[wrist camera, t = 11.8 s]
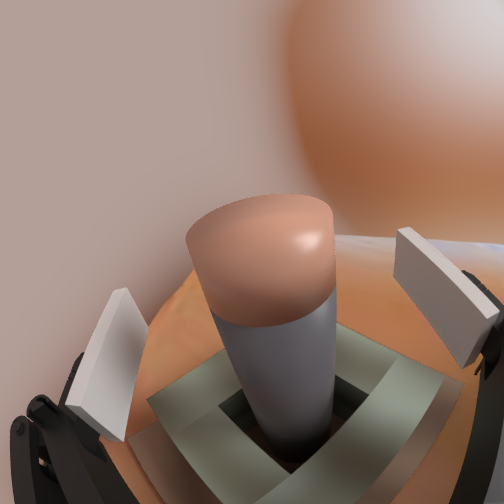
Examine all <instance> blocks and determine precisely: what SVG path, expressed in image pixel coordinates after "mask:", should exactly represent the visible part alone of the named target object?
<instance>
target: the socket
mask: <svg viewBox="0 0 504 504" xmlns="http://www.w3.org/2000/svg"><path fill="white" fill-rule="evenodd" d="M463 386H464V383H462V382H460V381H458V380H456V379H453V378H451V377H449V376H447V375H445V374H443V373H441V372H438V371H436V370H434V369H432V368H430V367H428V366H426V365H424V364H421V363H419V362H417V361H415V360H413V359H411V358H409V357H407V356H405V355H403V354H401V353H399V352H397V351H395V350H392V349H390V348H388V347H386V346H384V345H382V344H380V343H378V342H376V341H374V340H372V339H370V338H368V337H366V336H364V335H362V334H360V333H358V332H356V331H354V330H352V329H350V328H348V327H346V326H344V325H342V324H340V323H338V322H336V361H335V381H334V397H333V409H332V420H331V430H330V439H329V440H328V441H327V442H326V443H325V444H324V445H323V446H322V447H321V448H320V449H319V450H318V451H317V452H316V453H315V454H314V455H313V456H312V457H311V458H310V459H309V460H307V461H306V462H305V463H289V462H285V461H283V460H281V459H279V458H278V457H277V456H276V455H275V454H274V453H273V452H272V450H271V449H270V447H269V445H268V443H267V440H266V438H265V436H264V434H263V432H262V430H261V428H260V426H259V424H258V422H257V420H256V417H255V415H254V413H253V411H252V409H251V407H250V404H249V402H248V400H247V398H246V396H245V393H244V391H243V389H242V387H241V384H240V382H239V380H238V377H237V375H236V373H235V370H234V368H233V366H232V363H231V361H230V358H229V356H228V354H227V351H226V349H225V348H224V349H223V350H221V351H220V352H218V353H217V354H215V355H214V356H212V357H211V358H210V359H208V360H207V361H205V362H204V363H202V364H201V365H199V366H198V367H196V368H195V369H193V370H192V371H190V372H189V373H187V374H186V375H184V376H183V377H181V378H179V379H178V380H176V381H175V382H173V383H172V384H170V385H169V386H167V387H165V388H164V389H162V390H161V391H159V392H157V393H156V394H154V395H153V396H151V397H149V398H148V399H146V400H147V401H148V403H149V405H150V406H151V408H152V410H153V411H154V413H155V415H156V416H157V418H158V419H159V420H158V421H156V422H154V423H153V424H151V425H149V426H148V427H146V428H144V429H143V430H141V431H139V432H137V433H136V434H134V435H132V436H130V437H129V438H127V440H128V442H129V444H130V446H131V448H132V450H133V452H134V454H135V455H136V457H137V459H138V461H139V463H140V464H141V466H142V468H143V469H144V471H145V473H146V474H147V476H148V478H149V479H150V481H151V483H152V484H153V486H154V487H155V489H156V490H157V492H158V493H159V495H160V496H161V498H162V499H163V501H164V502H165V504H389V503H390V502H391V501H392V500H393V499H394V498H395V496H396V495H397V494H398V493H399V491H400V490H401V489H402V488H403V486H404V485H405V484H406V483H407V481H408V480H409V479H410V477H411V476H412V475H413V473H414V472H415V470H416V469H417V468H418V466H419V465H420V463H421V462H422V460H423V459H424V457H425V456H426V454H427V453H428V451H429V450H430V448H431V447H432V445H433V443H434V442H435V440H436V438H437V437H438V435H439V433H440V432H441V430H442V428H443V426H444V424H445V423H446V421H447V419H448V417H449V415H450V413H451V411H452V409H453V407H454V405H455V403H456V401H457V399H458V397H459V395H460V393H461V390H462V388H463Z"/></svg>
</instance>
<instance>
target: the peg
mask: <svg viewBox="0 0 504 504" xmlns="http://www.w3.org/2000/svg"><path fill="white" fill-rule="evenodd" d="M186 244H187V247H188V250H189V253H190V256H191V258H192V261H193V264H194V267H195V270H196V273H197V276H198V279H199V281H200V284H201V287H202V290H203V292H204V295H205V298H206V300H207V303H208V306H209V308H210V311H211V314H212V316H213V319H214V321H215V324H216V326H217V329H218V331H219V334H220V336H221V339H222V341H223V344H224V346H225V349H226V351H227V354H228V356H229V358H230V361H231V363H232V366H233V368H234V370H235V373H236V375H237V377H238V380H239V382H240V384H241V387H242V389H243V391H244V393H245V396H246V398H247V400H248V402H249V404H250V407H251V409H252V411H253V413H254V415H255V417H256V420H257V422H258V424H259V426H260V428H261V430H262V432H263V434H264V436H265V438H266V440H267V443H268V445H269V447H270V449H271V450H272V452H273V453H274V454H275V455H276V456H277V457H278V458H279V459H281V460H283V461H285V462H289V463H305V462H306V461H307V460H309V459H310V458H311V457H312V456H313V455H314V454H315V453H316V452H317V451H318V450H319V449H320V448H321V447H322V446H323V445H324V444H325V443H326V442H327V441H328V440H329V439H330V430H331V420H332V409H333V397H334V381H335V361H336V318H337V305H336V261H335V241H334V225H333V214H332V210H331V208H330V207H329V206H328V205H327V204H326V203H325V202H323V201H321V200H319V199H317V198H314V197H310V196H306V195H299V194H271V195H263V196H257V197H252V198H247V199H244V200H239V201H237V202H233V203H230V204H227V205H225V206H222V207H220V208H218V209H216V210H214V211H212V212H210V213H208V214H206V215H205V216H203V217H202V218H201V219H199V220H198V221H197V222H196V223H195V224H194V225H193V226H192V227H191V228H190V229H189V231H188V233H187V235H186Z"/></svg>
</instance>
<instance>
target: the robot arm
mask: <svg viewBox="0 0 504 504" xmlns="http://www.w3.org/2000/svg"><path fill="white" fill-rule="evenodd" d="M393 277H394V278H395V279H396V281H397V282H398V283H399V284H400V285H401V287H402V288H403V289H404V290H405V292H406V293H407V294H408V295H409V297H410V298H411V299H412V300H413V302H414V303H415V304H416V306H417V307H418V308H419V310H420V311H421V312H422V313H423V315H424V316H425V317H426V319H427V320H428V321H429V323H430V324H431V326H432V327H433V328H434V330H435V331H436V332H437V334H438V335H439V337H440V338H441V339H442V341H443V342H444V344H445V345H446V347H447V348H448V350H449V351H450V352H451V354H452V355H453V357H454V358H455V360H456V361H457V363H458V364H459V366H460V368H461V369H464V368H465V367H467V366H469V365H471V364H472V363H474V362H475V361H476V359H477V357H478V355H479V353H480V352H481V354H482V355H483V356H484V357H483V359H482V361H481V362H480V364H479V366H478V367H477V369H476V371H475V374H474V375H477V373H478V372H479V370H480V369H481V372H480V382H479V391H478V398H477V405H476V411H475V417H474V422H473V427H472V432H471V436H470V440H469V444H468V448H467V452H466V455H465V459H464V462H463V466H462V469H461V472H460V475H459V478H458V481H457V484H456V486H455V489H454V492H453V494H452V497H451V499H450V502H449V504H504V305H503V304H502V303H501V302H500V301H499V300H498V299H497V298H496V297H495V296H494V295H493V294H492V293H491V292H490V291H489V290H487V288H486V287H485V286H484V285H483V284H481V282H480V281H479V280H478V279H477V278H476V277H475V276H474V275H472V274H470V273H468V272H466V271H465V270H463V271H460V270H459V269H458V268H457V267H456V266H455V265H454V264H452V263H451V262H450V261H449V260H448V259H447V258H446V257H445V256H444V255H442V254H441V253H440V252H439V251H438V250H437V249H436V248H434V247H433V246H432V245H431V244H430V243H428V242H427V241H426V240H425V239H424V238H422V237H421V236H420V235H419V234H417V233H416V232H415V231H414V230H413V229H411V228H410V227H407V228H402V229H398V230H397V237H396V252H395V264H394V273H393ZM148 331H149V328H148V326H147V324H146V322H145V321H144V319H143V317H142V315H141V313H140V311H139V310H138V308H137V306H136V304H135V302H134V300H133V298H132V296H131V294H130V293H129V291H128V289H127V288H122V289H117V290H114V291H113V293H112V295H111V297H110V299H109V301H108V303H107V305H106V307H105V309H104V311H103V313H102V316H101V318H100V320H99V322H98V324H97V326H96V328H95V331H94V333H93V335H92V337H91V340H90V342H89V344H88V346H87V349H86V351H85V352H83V353H81V354H80V356H79V357H78V358H77V359H76V361H75V363H74V365H73V367H72V370H71V373H70V375H69V377H68V380H67V383H66V385H65V387H64V390H63V393H62V395H61V398H60V401H59V404H58V406H57V405H55V404H54V403H53V402H52V401H51V400H50V399H49V398H48V397H47V396H45V395H38V396H36V397H35V398H33V399H32V400H31V402H30V403H29V405H28V407H27V417H28V418H30V419H31V420H32V421H33V422H31V421H30V420H29V419H27V418H26V417H25V416H19V417H17V418H16V419H15V420H14V421H13V423H12V425H11V429H10V458H11V459H10V461H11V477H12V486H13V494H14V502H15V504H140V503H139V502H138V500H137V499H136V497H135V496H134V495H133V493H132V492H131V490H130V489H129V487H128V486H127V484H126V483H125V481H124V480H123V478H122V476H121V475H120V473H119V472H118V470H117V468H116V467H115V465H114V463H113V462H112V460H111V458H110V456H109V455H108V453H107V451H106V449H105V447H104V445H103V444H102V443H101V442H100V441H99V436H100V435H102V436H103V437H104V438H106V439H107V440H108V441H118V442H124V437H125V431H126V426H127V421H128V415H129V410H130V406H131V401H132V396H133V392H134V387H135V383H136V378H137V374H138V370H139V366H140V362H141V358H142V354H143V350H144V346H145V342H146V339H147V335H148ZM39 458H40V459H42V460H43V461H44V466H42V465H41V464H39Z"/></svg>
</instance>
